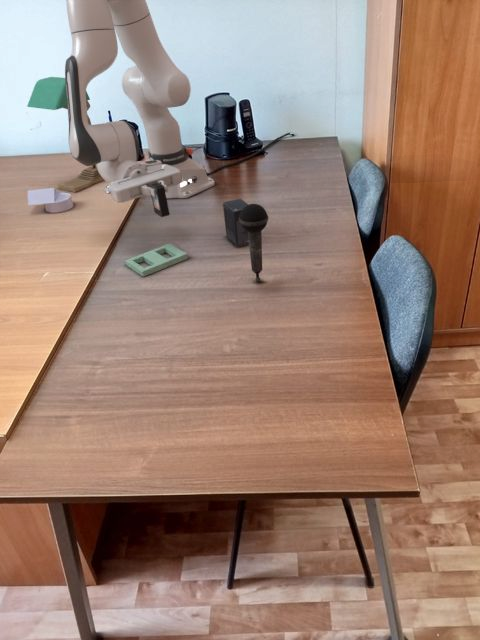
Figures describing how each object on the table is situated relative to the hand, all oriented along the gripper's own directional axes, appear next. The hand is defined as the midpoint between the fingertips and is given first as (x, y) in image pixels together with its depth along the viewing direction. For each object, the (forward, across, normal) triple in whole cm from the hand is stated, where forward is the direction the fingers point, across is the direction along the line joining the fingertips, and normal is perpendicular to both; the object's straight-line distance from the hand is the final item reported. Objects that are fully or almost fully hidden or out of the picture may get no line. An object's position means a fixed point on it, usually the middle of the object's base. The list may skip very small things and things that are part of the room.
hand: (161, 191), depth 139 cm
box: (+10, +17, +17) cm, 26 cm away
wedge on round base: (-56, -11, +17) cm, 60 cm away
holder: (+4, -7, +17) cm, 18 cm away
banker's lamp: (-71, +8, +17) cm, 74 cm away
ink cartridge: (-1, 0, +7) cm, 7 cm away
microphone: (+32, +5, +17) cm, 36 cm away
